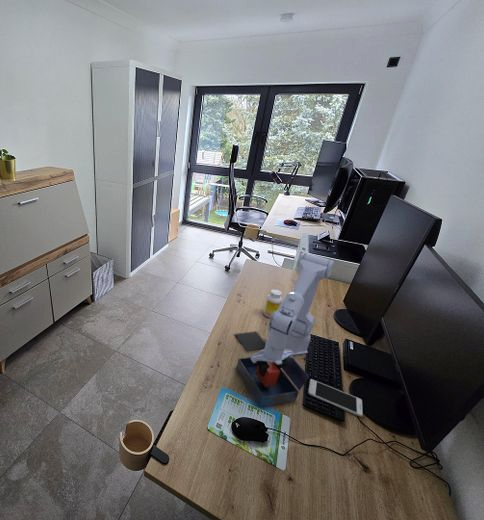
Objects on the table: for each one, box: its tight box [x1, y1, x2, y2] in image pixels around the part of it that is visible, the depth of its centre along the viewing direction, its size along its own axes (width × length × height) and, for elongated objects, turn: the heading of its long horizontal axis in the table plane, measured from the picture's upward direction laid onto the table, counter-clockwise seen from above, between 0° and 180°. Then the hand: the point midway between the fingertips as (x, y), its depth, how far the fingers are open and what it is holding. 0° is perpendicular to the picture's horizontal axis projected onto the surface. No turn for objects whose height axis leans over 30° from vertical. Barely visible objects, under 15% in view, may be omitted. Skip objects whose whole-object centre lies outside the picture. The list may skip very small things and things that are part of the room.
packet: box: [256, 361, 280, 387], centre depth 101 cm, size 4×6×7 cm, turn 10°
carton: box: [235, 356, 300, 409], centre depth 102 cm, size 13×17×5 cm
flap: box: [281, 357, 310, 391], centre depth 100 cm, size 6×17×1 cm
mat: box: [234, 331, 266, 352], centre depth 123 cm, size 10×10×1 cm
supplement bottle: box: [262, 289, 283, 319], centre depth 137 cm, size 7×7×13 cm
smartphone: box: [307, 378, 364, 418], centre depth 99 cm, size 7×15×1 cm, turn 57°
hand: (267, 373), depth 101 cm, fingers closed on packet, 4 cm apart
